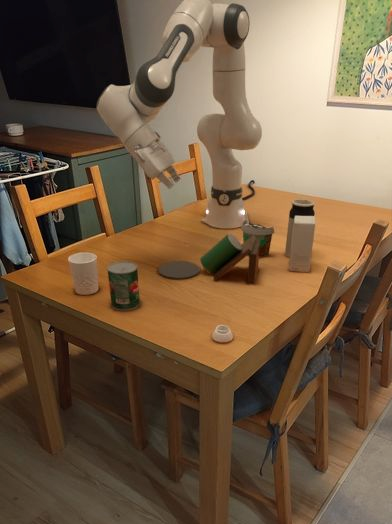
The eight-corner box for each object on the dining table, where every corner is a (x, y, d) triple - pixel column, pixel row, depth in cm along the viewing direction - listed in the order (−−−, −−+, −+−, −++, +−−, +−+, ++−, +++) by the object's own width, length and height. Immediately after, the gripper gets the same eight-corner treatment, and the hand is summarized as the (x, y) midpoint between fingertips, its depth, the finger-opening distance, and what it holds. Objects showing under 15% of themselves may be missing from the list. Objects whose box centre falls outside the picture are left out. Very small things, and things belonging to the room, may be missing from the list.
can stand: (219, 265, 151) (220, 232, 145) (258, 268, 148) (260, 235, 142) (213, 280, 141) (213, 245, 135) (254, 284, 139) (256, 249, 133)
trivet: (164, 261, 153) (164, 259, 153) (203, 264, 151) (203, 262, 151) (153, 277, 143) (153, 275, 143) (194, 281, 141) (194, 279, 140)
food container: (232, 251, 160) (233, 223, 155) (243, 247, 164) (245, 219, 159) (261, 261, 153) (263, 231, 148) (272, 256, 157) (274, 227, 152)
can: (202, 267, 149) (202, 228, 142) (241, 270, 147) (243, 231, 140) (198, 275, 144) (198, 235, 137) (238, 278, 142) (241, 238, 135)
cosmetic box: (309, 273, 146) (316, 224, 137) (287, 271, 147) (293, 222, 138) (309, 262, 152) (316, 215, 144) (289, 261, 154) (294, 214, 145)
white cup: (90, 281, 140) (86, 250, 135) (106, 290, 135) (102, 257, 130) (68, 289, 136) (62, 257, 130) (82, 298, 131) (77, 265, 125)
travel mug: (298, 261, 153) (305, 206, 143) (280, 254, 158) (285, 201, 148) (313, 255, 158) (321, 202, 148) (294, 249, 163) (301, 196, 153)
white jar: (207, 338, 113) (223, 346, 110) (208, 328, 112) (224, 335, 109) (220, 330, 116) (236, 337, 113) (221, 320, 115) (237, 327, 112)
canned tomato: (108, 300, 130) (103, 263, 124) (135, 295, 132) (132, 259, 126) (115, 313, 124) (111, 275, 118) (143, 307, 126) (141, 270, 120)
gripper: (140, 139, 119) (175, 183, 123) (159, 132, 136) (189, 170, 140) (123, 156, 122) (159, 198, 126) (144, 147, 139) (174, 184, 143)
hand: (175, 183), depth 133 cm, fingers open, 8 cm apart
